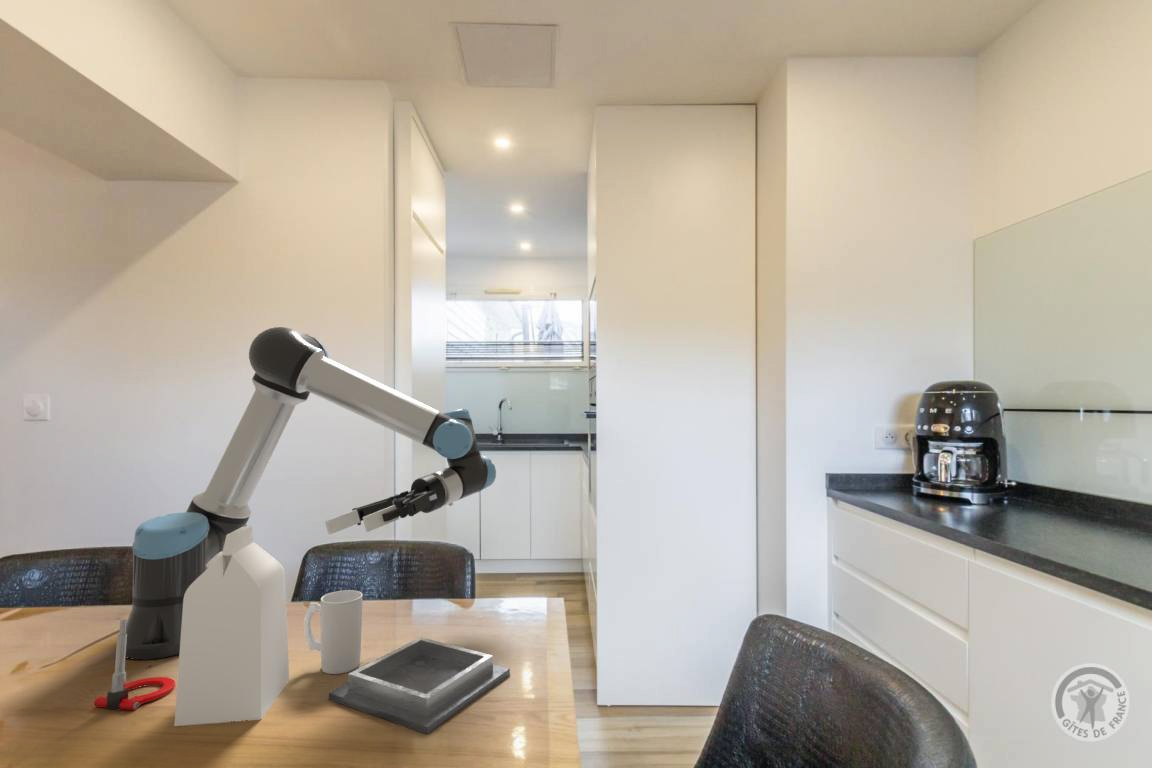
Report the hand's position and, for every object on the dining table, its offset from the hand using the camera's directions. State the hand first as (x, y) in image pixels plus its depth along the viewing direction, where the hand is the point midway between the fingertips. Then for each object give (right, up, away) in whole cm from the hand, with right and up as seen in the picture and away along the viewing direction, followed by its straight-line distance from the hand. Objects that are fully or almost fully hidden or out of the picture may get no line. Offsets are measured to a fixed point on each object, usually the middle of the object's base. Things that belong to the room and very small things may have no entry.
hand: (345, 526), depth 108 cm
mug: (0, -23, -7) cm, 24 cm away
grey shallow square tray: (+18, -22, -14) cm, 32 cm away
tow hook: (-25, -23, -17) cm, 38 cm away
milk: (-9, -22, -19) cm, 31 cm away
